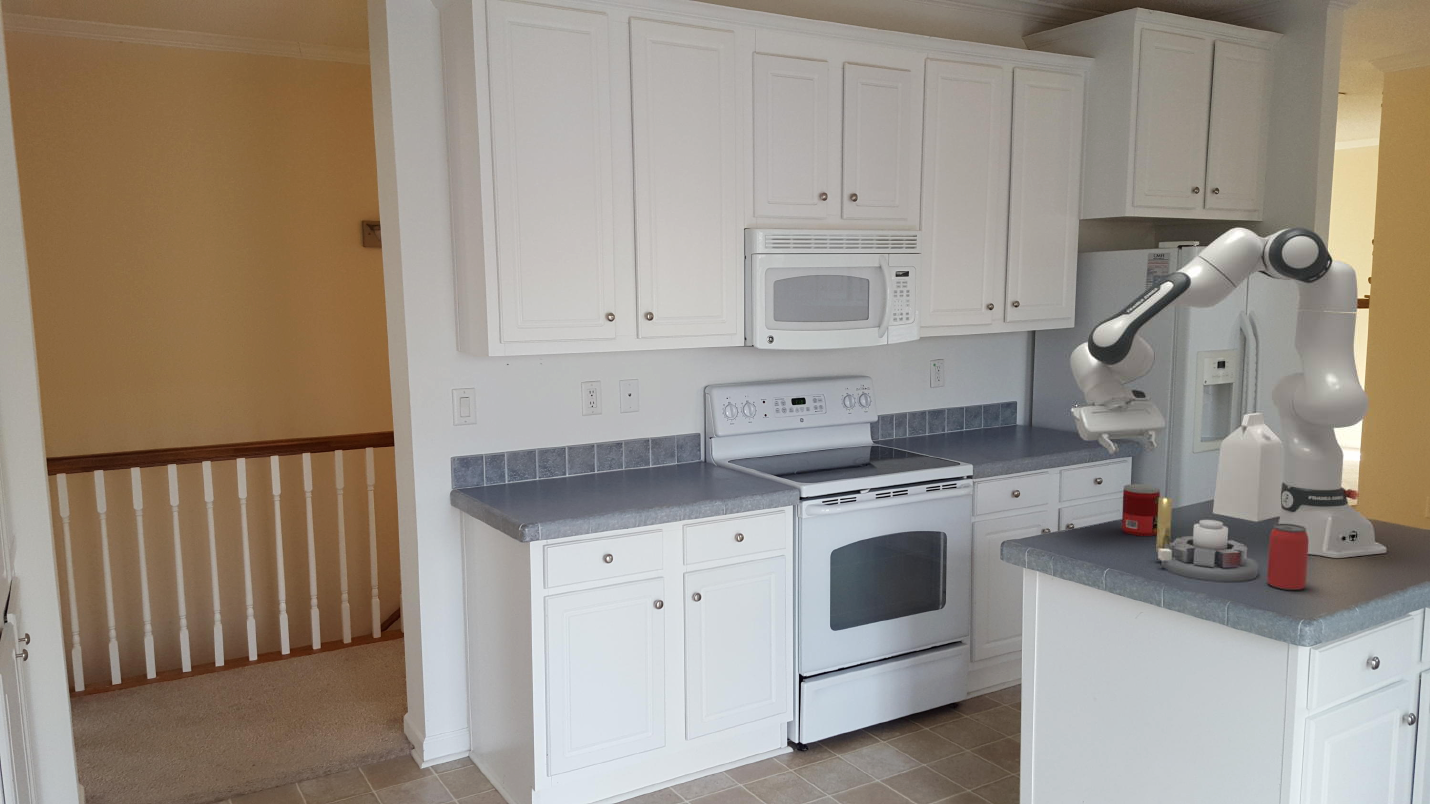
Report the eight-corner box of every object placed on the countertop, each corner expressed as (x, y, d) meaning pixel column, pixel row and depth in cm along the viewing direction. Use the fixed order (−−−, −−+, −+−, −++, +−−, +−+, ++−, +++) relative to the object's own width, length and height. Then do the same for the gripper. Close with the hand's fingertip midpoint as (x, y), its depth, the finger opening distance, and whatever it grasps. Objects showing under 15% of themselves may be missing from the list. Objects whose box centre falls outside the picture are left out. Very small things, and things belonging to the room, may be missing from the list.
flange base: (1222, 555, 219) (1225, 511, 218) (1277, 579, 201) (1280, 531, 200) (1140, 558, 217) (1142, 513, 216) (1188, 583, 199) (1190, 534, 198)
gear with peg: (1249, 555, 211) (1252, 501, 209) (1240, 571, 200) (1243, 513, 198) (1162, 544, 220) (1165, 492, 219) (1149, 558, 209) (1152, 503, 208)
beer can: (1259, 581, 200) (1263, 523, 199) (1291, 580, 201) (1294, 522, 199) (1280, 591, 194) (1284, 531, 192) (1313, 590, 194) (1317, 530, 193)
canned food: (1161, 537, 236) (1163, 491, 234) (1125, 535, 237) (1127, 489, 236) (1153, 529, 243) (1155, 484, 242) (1118, 527, 245) (1120, 483, 243)
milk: (1238, 507, 266) (1244, 410, 263) (1282, 515, 256) (1288, 414, 253) (1212, 513, 259) (1218, 413, 256) (1256, 521, 250) (1262, 418, 247)
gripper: (1073, 396, 228) (1097, 445, 220) (1154, 391, 232) (1180, 439, 224) (1063, 413, 233) (1086, 462, 225) (1141, 408, 237) (1167, 456, 229)
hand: (1133, 450), depth 224 cm, fingers open, 8 cm apart
